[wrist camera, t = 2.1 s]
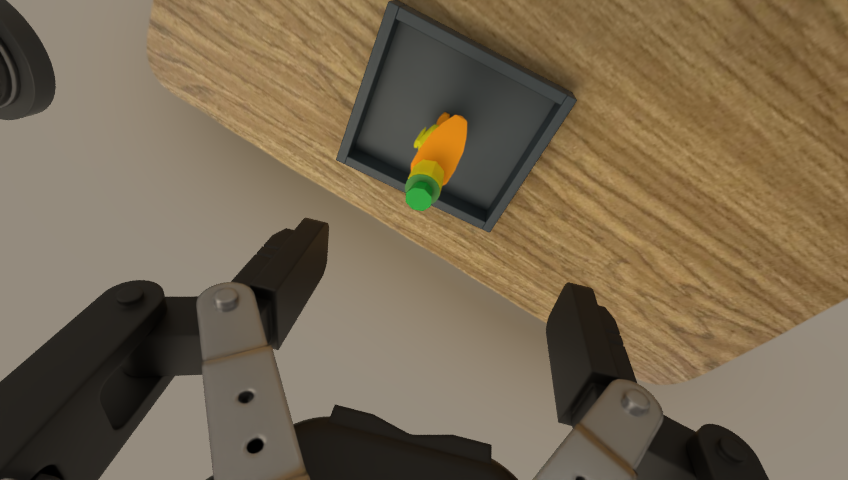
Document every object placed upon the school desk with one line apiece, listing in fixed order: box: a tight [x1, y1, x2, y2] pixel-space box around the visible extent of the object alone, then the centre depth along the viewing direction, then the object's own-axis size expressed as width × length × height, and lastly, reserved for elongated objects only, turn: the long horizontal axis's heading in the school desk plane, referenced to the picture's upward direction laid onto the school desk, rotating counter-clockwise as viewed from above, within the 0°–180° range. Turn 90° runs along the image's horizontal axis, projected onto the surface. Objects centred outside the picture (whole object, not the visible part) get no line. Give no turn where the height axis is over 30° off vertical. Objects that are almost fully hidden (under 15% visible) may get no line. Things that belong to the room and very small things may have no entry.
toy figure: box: [405, 112, 467, 211], centre depth 27 cm, size 7×4×12 cm, turn 152°
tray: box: [336, 0, 577, 232], centre depth 32 cm, size 15×13×2 cm
